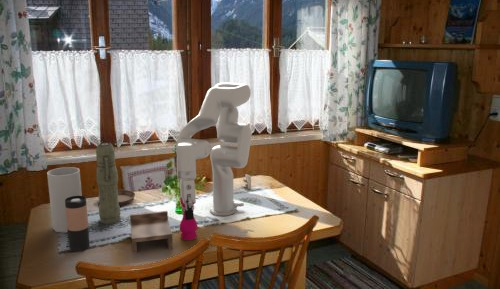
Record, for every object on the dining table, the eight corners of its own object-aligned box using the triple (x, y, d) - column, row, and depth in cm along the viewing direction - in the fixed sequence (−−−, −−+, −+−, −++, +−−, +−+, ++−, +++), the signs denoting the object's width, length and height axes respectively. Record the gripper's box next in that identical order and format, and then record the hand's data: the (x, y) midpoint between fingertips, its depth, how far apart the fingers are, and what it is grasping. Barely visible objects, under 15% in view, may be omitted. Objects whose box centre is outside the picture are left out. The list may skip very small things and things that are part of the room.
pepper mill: (194, 241, 178) (193, 194, 174) (177, 240, 180) (175, 192, 175) (200, 234, 185) (198, 188, 181) (183, 232, 187) (181, 187, 182)
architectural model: (245, 190, 240) (245, 177, 239) (239, 187, 246) (239, 174, 245) (251, 189, 242) (251, 176, 240) (245, 186, 248) (245, 173, 246)
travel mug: (72, 243, 176) (68, 195, 172) (92, 243, 177) (88, 195, 172) (66, 252, 169) (61, 202, 164) (87, 251, 170) (83, 202, 165)
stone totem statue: (118, 214, 206) (112, 140, 198) (123, 223, 196) (117, 145, 188) (98, 217, 202) (91, 142, 194) (102, 226, 192) (96, 147, 184)
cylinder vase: (53, 224, 195) (47, 169, 189) (83, 219, 200) (78, 165, 194) (53, 235, 184) (46, 177, 178) (85, 230, 189) (80, 173, 183)
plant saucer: (136, 205, 218) (135, 199, 217) (98, 209, 213) (97, 203, 212) (134, 193, 234) (134, 188, 234) (99, 197, 229) (98, 191, 229)
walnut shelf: (168, 230, 188) (167, 210, 186) (172, 248, 173) (172, 226, 170) (131, 235, 184) (130, 214, 182) (132, 253, 168) (131, 231, 166)
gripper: (200, 179, 169) (200, 222, 173) (192, 167, 185) (193, 207, 189) (180, 180, 167) (181, 223, 171) (174, 169, 183) (175, 208, 187)
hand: (187, 215), depth 180 cm, fingers open, 9 cm apart
